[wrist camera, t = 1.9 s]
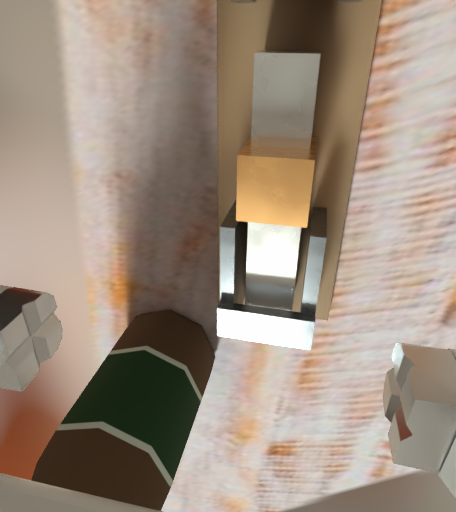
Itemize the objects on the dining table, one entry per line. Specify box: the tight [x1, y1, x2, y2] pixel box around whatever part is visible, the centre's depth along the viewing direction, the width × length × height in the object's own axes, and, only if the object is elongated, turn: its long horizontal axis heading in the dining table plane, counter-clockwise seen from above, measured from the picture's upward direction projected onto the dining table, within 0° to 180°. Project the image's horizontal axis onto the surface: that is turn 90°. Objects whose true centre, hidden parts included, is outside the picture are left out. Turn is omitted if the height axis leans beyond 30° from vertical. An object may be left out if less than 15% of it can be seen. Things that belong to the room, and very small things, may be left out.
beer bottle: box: [31, 310, 215, 511], centre depth 22 cm, size 8×8×24 cm
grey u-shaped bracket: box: [217, 200, 327, 351], centre depth 23 cm, size 5×7×5 cm
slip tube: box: [236, 51, 321, 311], centre depth 21 cm, size 3×14×5 cm, turn 0°
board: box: [217, 0, 382, 320], centre depth 22 cm, size 8×23×1 cm, turn 0°
